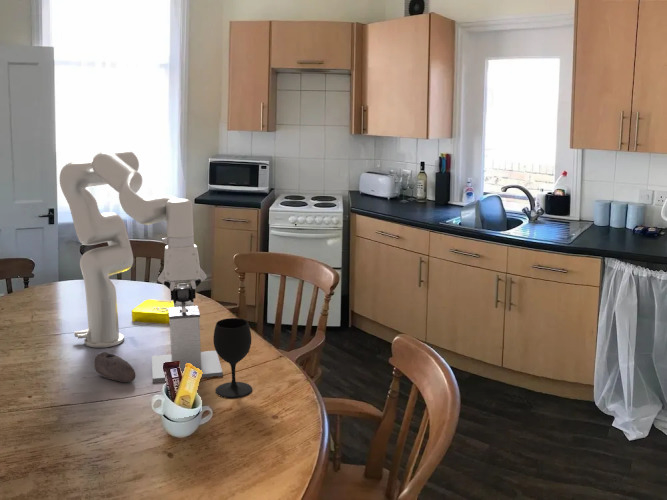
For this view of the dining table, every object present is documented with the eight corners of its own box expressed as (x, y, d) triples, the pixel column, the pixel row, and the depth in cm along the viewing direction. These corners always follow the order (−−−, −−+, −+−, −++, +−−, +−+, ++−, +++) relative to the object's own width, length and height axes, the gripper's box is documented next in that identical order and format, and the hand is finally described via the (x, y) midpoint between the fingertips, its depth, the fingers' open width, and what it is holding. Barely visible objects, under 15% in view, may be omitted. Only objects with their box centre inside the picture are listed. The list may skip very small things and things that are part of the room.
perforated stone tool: (141, 382, 212) (140, 360, 210) (127, 388, 208) (126, 365, 206) (107, 370, 220) (106, 348, 219) (93, 376, 216) (91, 354, 214)
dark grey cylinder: (178, 353, 219) (175, 290, 214) (177, 348, 223) (174, 286, 218) (193, 352, 220) (190, 289, 215) (192, 347, 224) (189, 285, 219)
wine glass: (216, 383, 211) (214, 317, 207) (252, 382, 212) (251, 316, 208) (213, 399, 201) (211, 329, 197) (252, 397, 202) (250, 329, 198)
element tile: (185, 312, 276) (184, 300, 275) (169, 325, 261) (169, 312, 260) (147, 309, 278) (146, 297, 277) (130, 322, 264) (129, 309, 263)
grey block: (171, 370, 217) (169, 316, 213) (170, 356, 228) (167, 304, 224) (202, 368, 219) (199, 314, 215) (199, 353, 230) (197, 302, 226)
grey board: (152, 382, 212) (152, 378, 212) (151, 359, 229) (151, 356, 228) (222, 376, 217) (222, 372, 216) (216, 354, 234) (216, 350, 233)
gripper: (151, 245, 208) (154, 307, 212) (211, 242, 212) (213, 303, 216) (150, 240, 215) (153, 300, 219) (208, 237, 219) (210, 296, 223)
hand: (183, 301), depth 218 cm, fingers closed on dark grey cylinder, 4 cm apart
